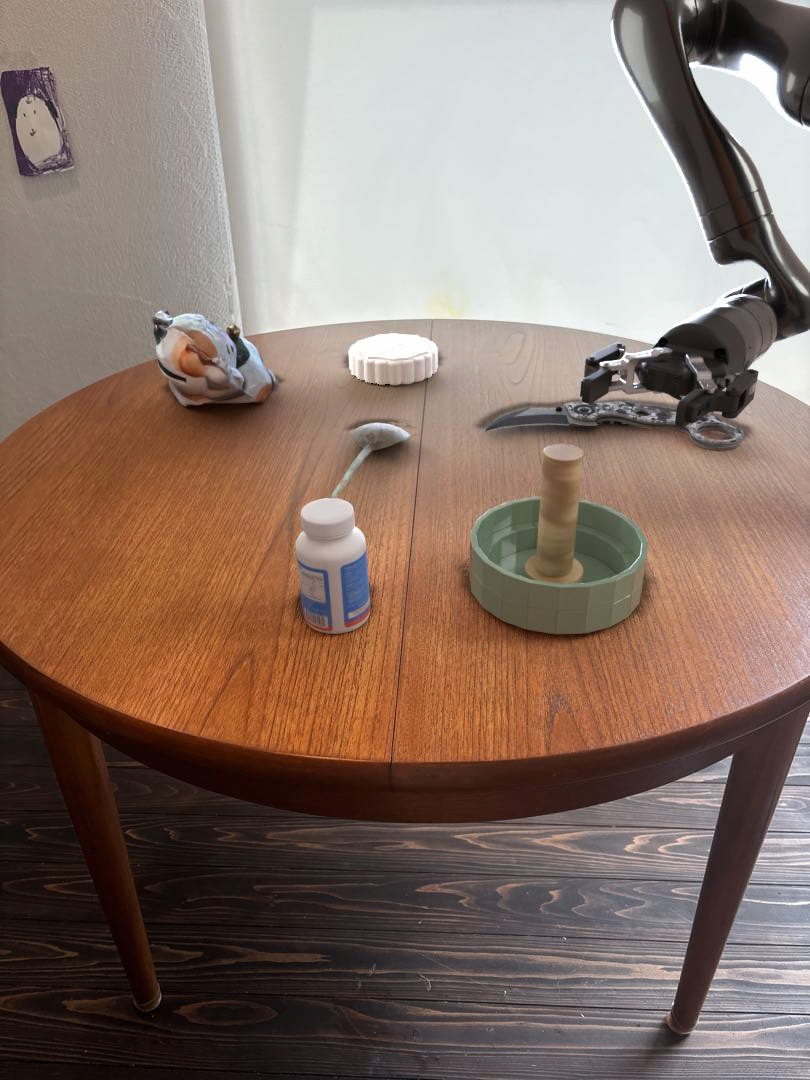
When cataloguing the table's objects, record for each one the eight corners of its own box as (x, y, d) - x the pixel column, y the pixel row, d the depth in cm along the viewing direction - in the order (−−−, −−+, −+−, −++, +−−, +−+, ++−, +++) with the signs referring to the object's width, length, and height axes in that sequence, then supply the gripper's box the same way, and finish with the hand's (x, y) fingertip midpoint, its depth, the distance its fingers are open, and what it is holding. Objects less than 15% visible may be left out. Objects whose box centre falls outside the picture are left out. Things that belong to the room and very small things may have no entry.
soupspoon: (418, 441, 99) (365, 437, 101) (417, 413, 98) (362, 410, 100) (351, 529, 81) (287, 522, 83) (348, 496, 79) (283, 490, 81)
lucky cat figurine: (296, 396, 110) (265, 317, 98) (220, 452, 107) (178, 377, 95) (232, 337, 117) (195, 256, 105) (159, 388, 114) (113, 311, 102)
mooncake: (441, 384, 113) (441, 358, 111) (348, 387, 112) (347, 361, 110) (435, 354, 123) (435, 329, 121) (350, 356, 123) (349, 331, 121)
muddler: (575, 566, 74) (588, 438, 68) (587, 598, 70) (601, 465, 64) (519, 567, 74) (527, 439, 68) (528, 600, 70) (536, 466, 64)
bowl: (618, 543, 78) (624, 494, 76) (659, 638, 66) (668, 584, 64) (463, 547, 78) (464, 498, 76) (477, 643, 66) (479, 589, 64)
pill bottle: (366, 593, 72) (360, 489, 67) (375, 631, 68) (369, 524, 63) (300, 600, 72) (289, 496, 67) (305, 640, 67) (294, 531, 62)
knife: (483, 426, 98) (495, 389, 106) (483, 438, 99) (495, 401, 107) (747, 448, 92) (739, 407, 100) (744, 461, 93) (736, 419, 101)
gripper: (643, 300, 85) (559, 344, 74) (792, 325, 77) (722, 378, 66) (635, 373, 89) (554, 425, 78) (775, 404, 81) (707, 466, 70)
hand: (631, 403), depth 72 cm, fingers open, 8 cm apart
